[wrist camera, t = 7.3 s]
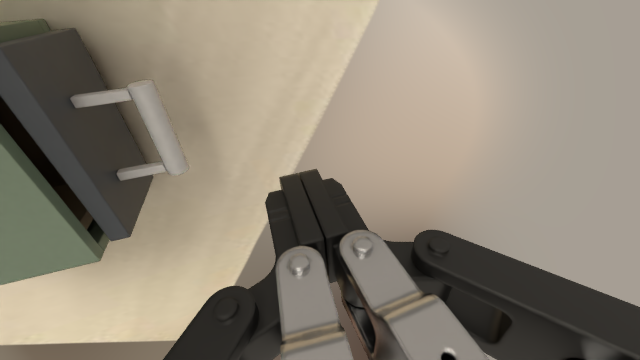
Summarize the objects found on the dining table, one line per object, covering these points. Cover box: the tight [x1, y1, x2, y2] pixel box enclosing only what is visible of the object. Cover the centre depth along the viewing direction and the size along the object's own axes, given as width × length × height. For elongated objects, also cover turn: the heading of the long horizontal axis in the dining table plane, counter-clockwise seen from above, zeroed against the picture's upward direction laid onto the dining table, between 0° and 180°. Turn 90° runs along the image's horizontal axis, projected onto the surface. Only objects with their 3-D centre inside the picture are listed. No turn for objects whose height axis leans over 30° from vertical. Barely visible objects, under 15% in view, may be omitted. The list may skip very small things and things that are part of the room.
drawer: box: [0, 28, 189, 241], centre depth 17 cm, size 17×11×7 cm
